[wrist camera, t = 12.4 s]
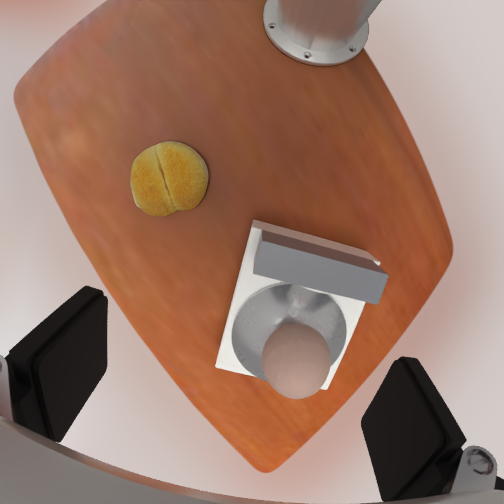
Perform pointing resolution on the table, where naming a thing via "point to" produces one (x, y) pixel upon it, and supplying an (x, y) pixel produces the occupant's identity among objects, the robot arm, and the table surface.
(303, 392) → the egg
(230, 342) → the kitchen scale
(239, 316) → the scale pan
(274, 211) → the table surface
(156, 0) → the table surface
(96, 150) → the table surface
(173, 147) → the bread roll
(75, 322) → the robot arm
